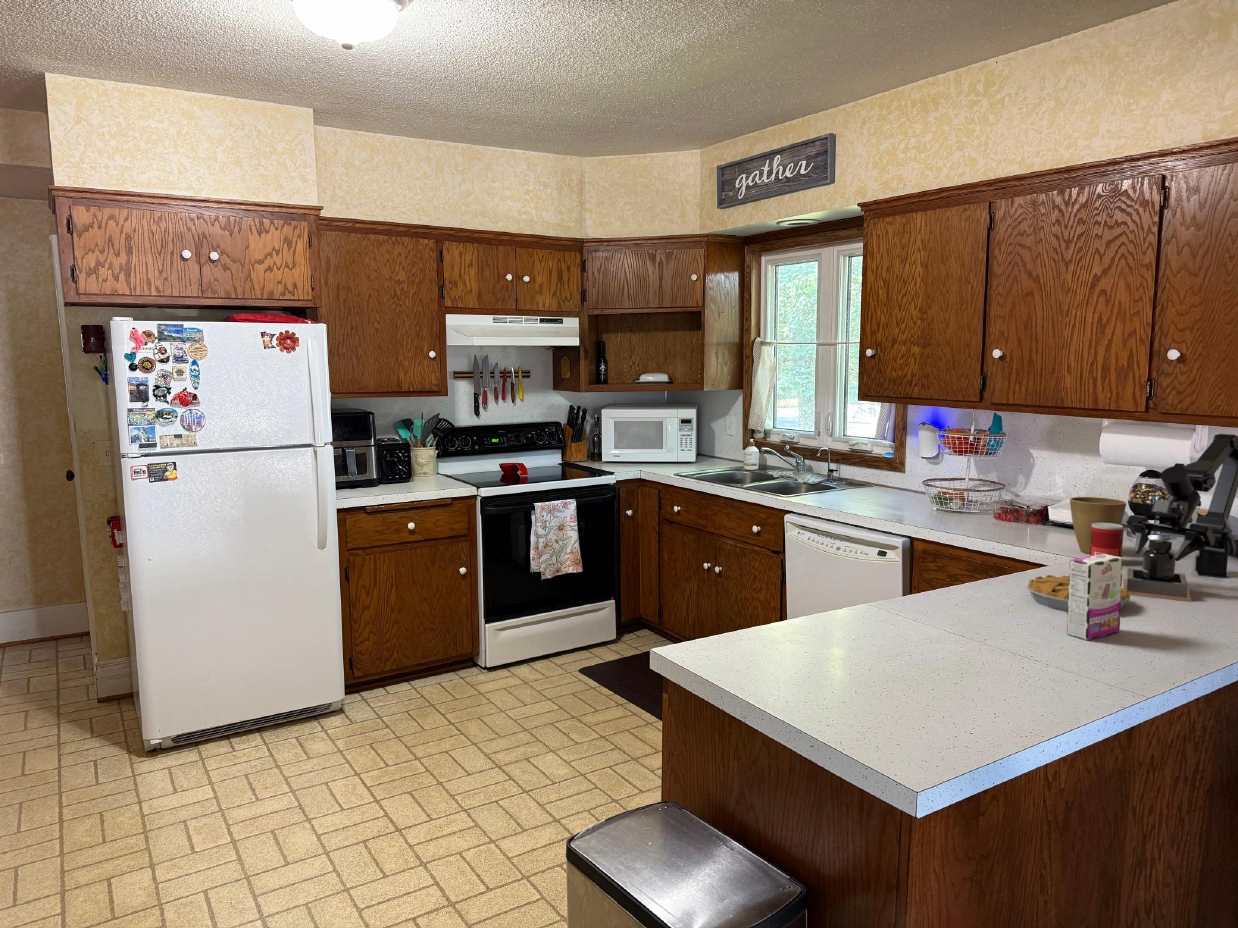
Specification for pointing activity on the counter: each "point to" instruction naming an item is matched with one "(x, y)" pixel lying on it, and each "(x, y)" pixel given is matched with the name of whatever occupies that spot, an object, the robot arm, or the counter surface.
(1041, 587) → the pie
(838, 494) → the counter surface
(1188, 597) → the grey square tray
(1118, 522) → the plant pot
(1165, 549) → the supplement bottle
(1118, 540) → the canned food
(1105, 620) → the candy bar box
